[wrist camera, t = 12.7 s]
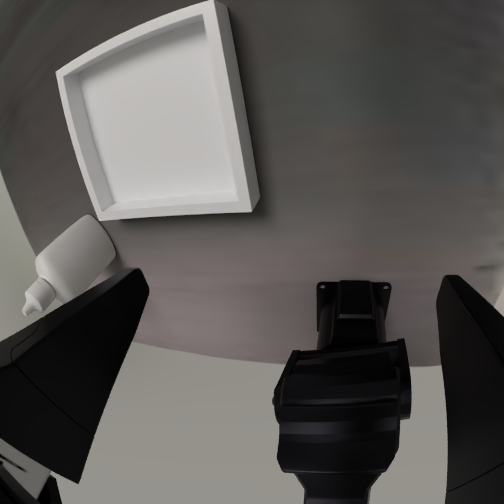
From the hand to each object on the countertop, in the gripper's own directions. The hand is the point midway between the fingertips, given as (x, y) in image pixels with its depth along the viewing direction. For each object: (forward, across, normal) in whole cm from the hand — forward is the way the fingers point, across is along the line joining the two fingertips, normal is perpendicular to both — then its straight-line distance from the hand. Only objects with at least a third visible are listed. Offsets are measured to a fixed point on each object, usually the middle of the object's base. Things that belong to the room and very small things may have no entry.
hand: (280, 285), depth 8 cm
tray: (+13, +11, -4) cm, 17 cm away
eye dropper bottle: (+13, +22, +6) cm, 26 cm away
